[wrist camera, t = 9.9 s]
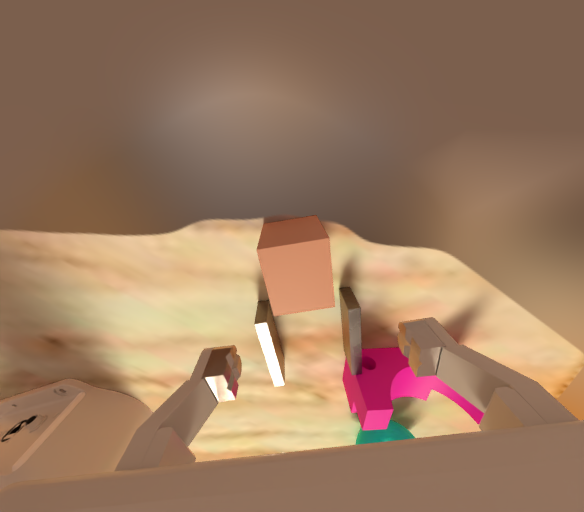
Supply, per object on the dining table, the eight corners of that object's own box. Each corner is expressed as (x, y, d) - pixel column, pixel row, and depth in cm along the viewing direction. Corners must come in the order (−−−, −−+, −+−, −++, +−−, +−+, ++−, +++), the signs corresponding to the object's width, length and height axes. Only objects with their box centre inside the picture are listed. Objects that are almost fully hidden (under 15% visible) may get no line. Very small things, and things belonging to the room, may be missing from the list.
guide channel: (275, 360, 28) (274, 386, 25) (258, 301, 23) (254, 324, 20) (352, 348, 27) (362, 373, 24) (349, 286, 23) (360, 307, 20)
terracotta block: (275, 277, 22) (273, 316, 17) (263, 223, 20) (256, 249, 14) (322, 269, 22) (335, 306, 17) (316, 214, 19) (329, 237, 14)
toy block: (342, 378, 30) (359, 442, 24) (346, 348, 28) (367, 410, 21) (441, 373, 31) (486, 435, 24) (456, 343, 28) (510, 403, 21)
